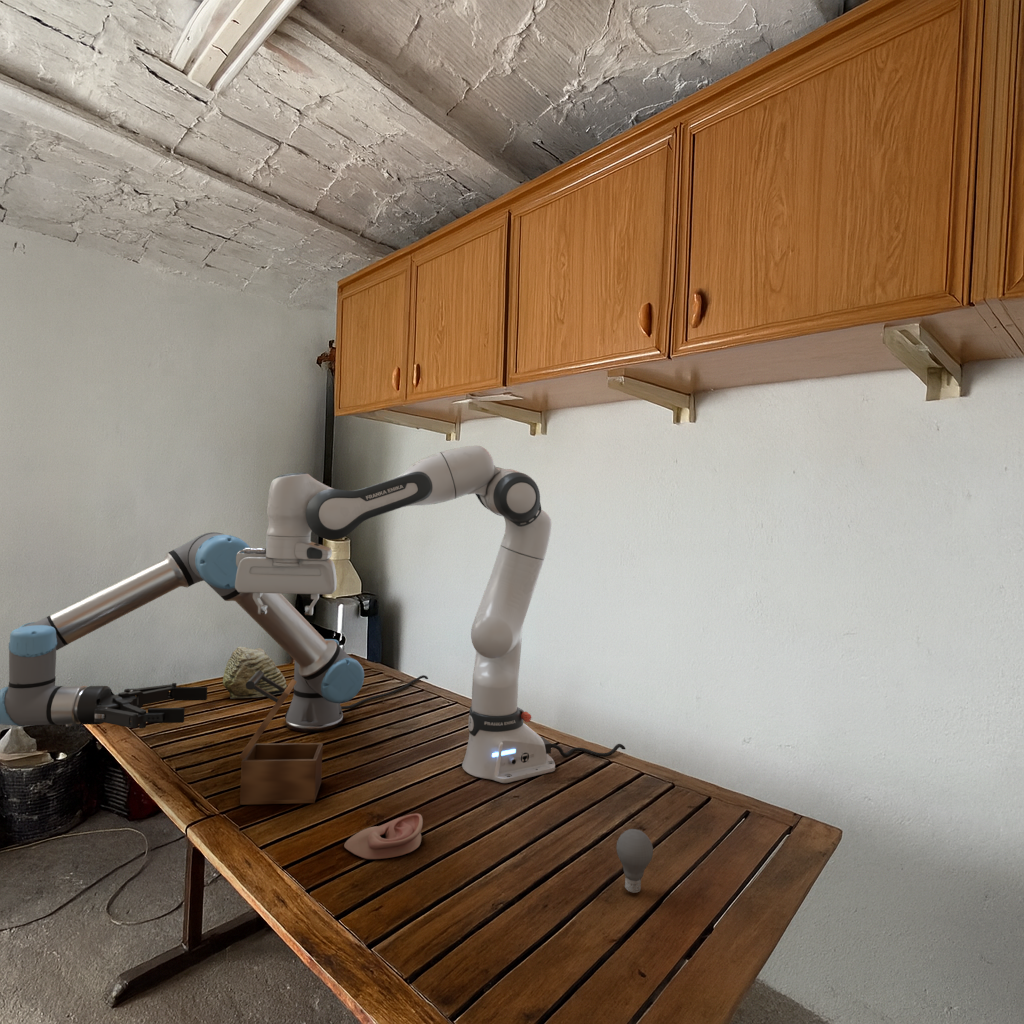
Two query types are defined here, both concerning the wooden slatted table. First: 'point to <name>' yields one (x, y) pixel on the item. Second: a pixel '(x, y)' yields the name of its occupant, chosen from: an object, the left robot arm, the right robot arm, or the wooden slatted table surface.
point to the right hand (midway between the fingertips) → (285, 614)
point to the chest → (281, 773)
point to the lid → (253, 685)
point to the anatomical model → (387, 838)
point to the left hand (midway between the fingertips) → (196, 703)
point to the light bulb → (634, 857)
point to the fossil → (251, 673)
